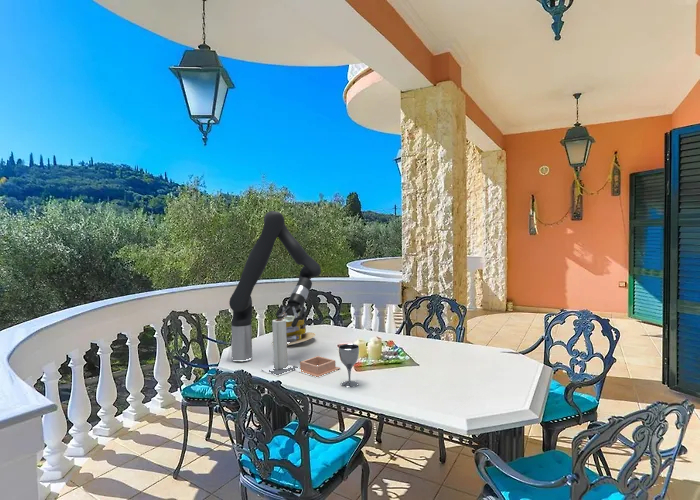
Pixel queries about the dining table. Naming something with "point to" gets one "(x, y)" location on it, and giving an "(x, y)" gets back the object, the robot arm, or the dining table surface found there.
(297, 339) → the tray of yellow jars
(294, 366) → the slate mat
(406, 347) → the dining table surface
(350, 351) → the wine glass
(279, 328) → the tall grey box
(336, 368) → the terracotta square tray
